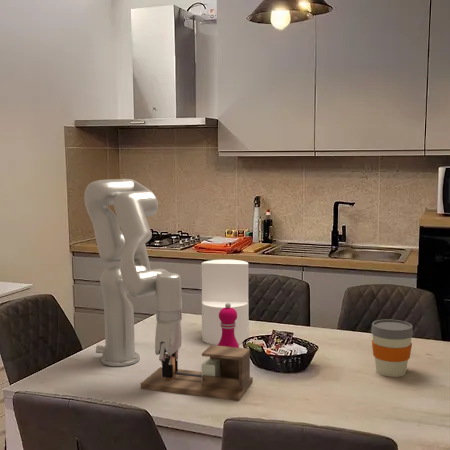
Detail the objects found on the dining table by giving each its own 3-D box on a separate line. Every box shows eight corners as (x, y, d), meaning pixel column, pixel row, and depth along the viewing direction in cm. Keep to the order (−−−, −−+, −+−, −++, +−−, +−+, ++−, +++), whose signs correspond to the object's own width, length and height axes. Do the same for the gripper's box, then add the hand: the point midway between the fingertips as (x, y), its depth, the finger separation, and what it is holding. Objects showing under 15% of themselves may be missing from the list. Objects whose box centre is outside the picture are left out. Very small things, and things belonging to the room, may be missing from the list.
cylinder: (206, 330, 233) (205, 259, 230) (250, 332, 231) (250, 259, 227) (198, 344, 216) (197, 267, 213) (246, 346, 214) (245, 268, 210)
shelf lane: (140, 388, 176) (139, 350, 175) (160, 371, 189) (159, 336, 188) (239, 400, 167) (239, 361, 165) (252, 382, 180) (252, 345, 179)
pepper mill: (237, 367, 193) (236, 306, 190) (215, 365, 194) (214, 305, 192) (241, 359, 200) (240, 300, 197) (219, 358, 201) (219, 299, 199)
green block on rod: (162, 379, 179) (161, 359, 178) (168, 373, 183) (168, 354, 183) (214, 385, 173) (214, 365, 173) (220, 379, 178) (220, 359, 178)
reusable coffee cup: (414, 367, 191) (416, 321, 189) (408, 381, 180) (410, 332, 178) (374, 362, 196) (375, 317, 195) (366, 375, 185) (367, 327, 183)
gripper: (167, 307, 187) (169, 364, 189) (145, 321, 172) (147, 383, 174) (190, 309, 185) (191, 366, 187) (170, 323, 169) (171, 386, 171)
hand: (170, 374), depth 180 cm, fingers closed on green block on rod, 3 cm apart
